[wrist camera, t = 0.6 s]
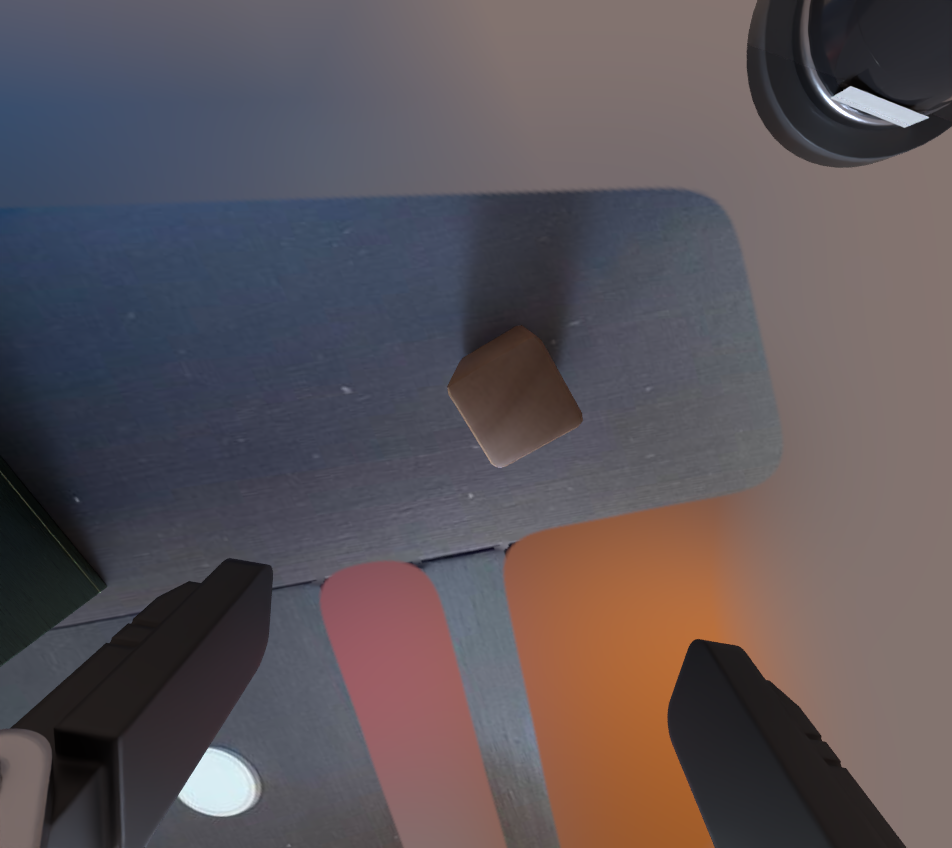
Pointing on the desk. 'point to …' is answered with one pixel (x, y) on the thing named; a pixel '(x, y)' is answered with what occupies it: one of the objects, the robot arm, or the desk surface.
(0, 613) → the waste bin
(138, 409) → the desk surface
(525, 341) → the wooden block
